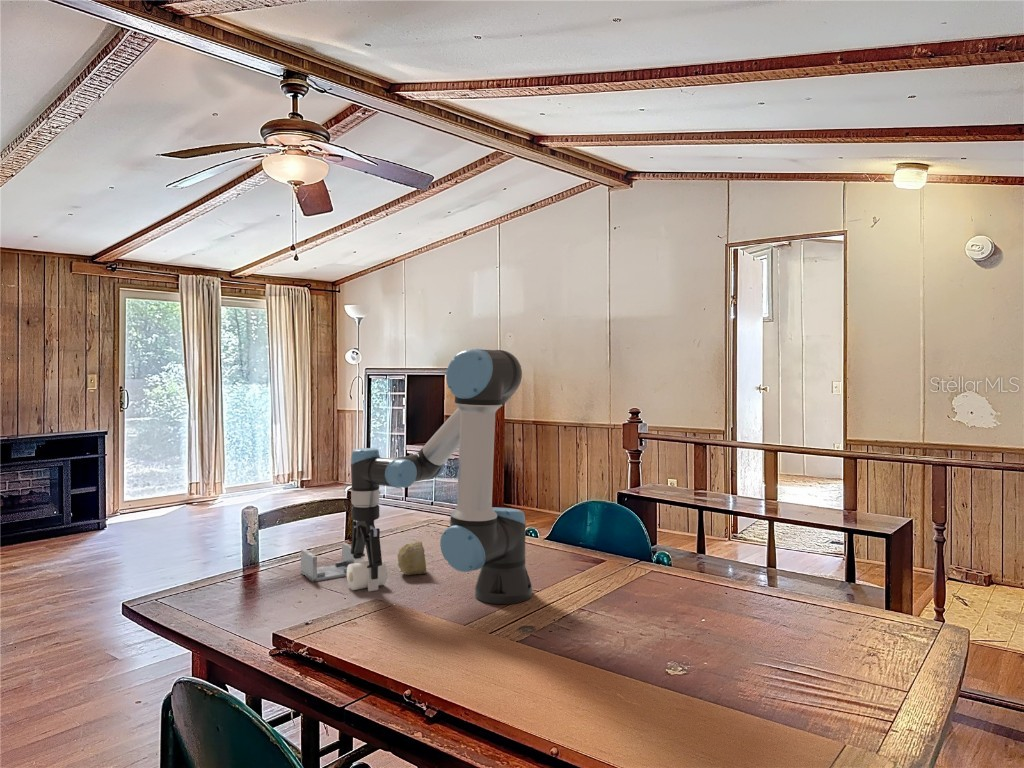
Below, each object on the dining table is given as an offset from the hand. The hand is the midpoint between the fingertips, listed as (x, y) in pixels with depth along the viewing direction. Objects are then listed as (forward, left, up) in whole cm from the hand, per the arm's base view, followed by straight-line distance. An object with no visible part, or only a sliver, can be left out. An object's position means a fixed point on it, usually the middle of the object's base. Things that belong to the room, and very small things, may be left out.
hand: (366, 585), depth 195 cm
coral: (+4, -16, -1) cm, 17 cm away
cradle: (+18, +4, 0) cm, 18 cm away
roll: (0, 0, +3) cm, 3 cm away
